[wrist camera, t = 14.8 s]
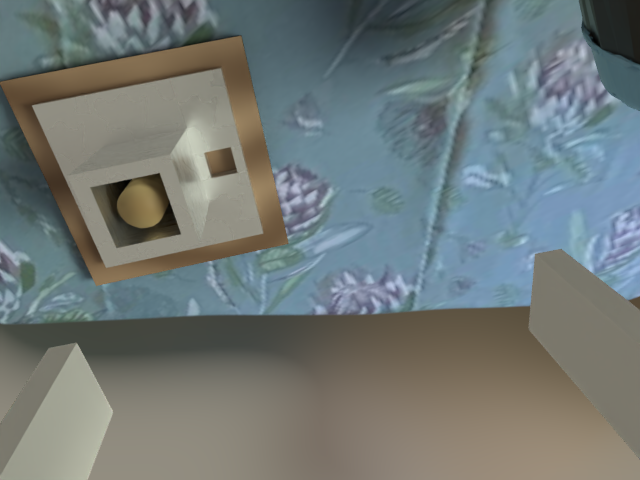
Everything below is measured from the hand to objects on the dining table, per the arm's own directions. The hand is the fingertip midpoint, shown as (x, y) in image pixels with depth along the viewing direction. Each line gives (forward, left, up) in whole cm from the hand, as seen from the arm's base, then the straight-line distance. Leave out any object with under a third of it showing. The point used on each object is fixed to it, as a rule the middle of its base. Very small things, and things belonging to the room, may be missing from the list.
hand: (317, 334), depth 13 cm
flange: (+1, -10, -27) cm, 29 cm away
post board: (+1, -10, -28) cm, 30 cm away
